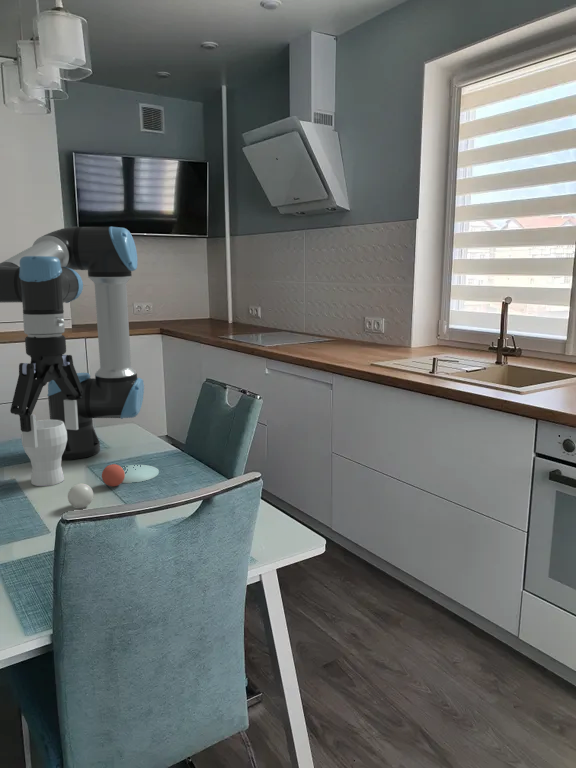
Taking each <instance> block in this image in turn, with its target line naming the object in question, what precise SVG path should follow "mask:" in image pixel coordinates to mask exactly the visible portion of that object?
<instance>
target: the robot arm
mask: <svg viewBox="0 0 576 768" xmlns="http://www.w3.org/2000/svg"><path fill="white" fill-rule="evenodd" d="M137 268H138V252H137V247H136V244H135V239H134V238H133V236H132V234H131V232H130V230H128V229H127V228H125V227H118V226H69V227H64V228H61V229H57V230H54V231H51V232H48V233H46V234H44V235H41V236H40V237H38V238H37V239H36V240H34V242H33V244H32V246H30V247H28V248H27V249H24V250H22V251H21V252H19V253H17V254H15V255H13V256H11V257H9V258H8V259H5V260H4V261H1V262H0V303H5V304H6V303H22V320H23V321H22V323H23V332H24V334H25V335H27V336H26V337H24V344H25V354H26V355H27V356H29V358H30V362H29V363H28V362H20V363H19V364H18V378H17V380H16V381H17V383H16V385H15V390H14V392H13V398H12V401H11V405H10V413H11V414H13V415H17V416H19V424H20V430H21V435H22V436H23V445H22V447H32V448H36V447H38V442H37V429H36V421H37V420H36V414H34V412H33V411H34V409H35V407H36V405H37V402H38V400H39V397H40V395H41V392H42V390H43V388H44V387H45V386H46V385H47V399H48V410H49V420H60V421H63V422H64V425H65V429H66V431H67V443H66V447H65V450H64V452H63V455H62V459H61V461H62V460H63V461H64V460H66V461H68V460H69V461H70V460H78V459H85V458H89V457H92V456H94V455H97V454H98V453H99V452H100V451H101V442H100V440H99V437H98V435H97V432H96V429H95V428H94V424H93V419H121V420H123V419H130V418H131V419H132V418H136V417H137V416H138V415H139V414H140V412H141V408H142V405H143V399H144V393H145V385H144V380H143V378H141V377H138V372H137V370H136V369H135V368H134V367H133V366H132V361H131V359H132V358H131V357H132V356H131V341H130V325H129V308H128V307H129V305H128V288H127V283H128V281H129V280H130V279H131V278H132V272H134V271H136V270H137ZM77 271H87V276H88V277H87V278H89V279H90V281H92V282H93V284H94V295H95V297H94V298H95V309H96V313H95V314H96V323H97V324H96V326H97V339H98V353H99V355H98V356H99V369H98V370H96V372H95V373H94V376H95V377H94V378H93V377H92V378H91V375H90V373H89V372H77V370H76V369H75V366H74V359H73V355H72V354H66V353H67V344H66V343H67V341H66V337H65V335H64V333H65V332H66V329H65V317H64V315H65V314H64V312H65V311H64V310H65V309H64V303H65V304H69V303H70V302H73V301H75V300H77V299H78V298H79V297H80V296H81V294H82V292H83V289H84V282H83V279H82V277H81V275H80V274H79V273H78V272H77ZM62 334H63V335H62Z"/></svg>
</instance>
